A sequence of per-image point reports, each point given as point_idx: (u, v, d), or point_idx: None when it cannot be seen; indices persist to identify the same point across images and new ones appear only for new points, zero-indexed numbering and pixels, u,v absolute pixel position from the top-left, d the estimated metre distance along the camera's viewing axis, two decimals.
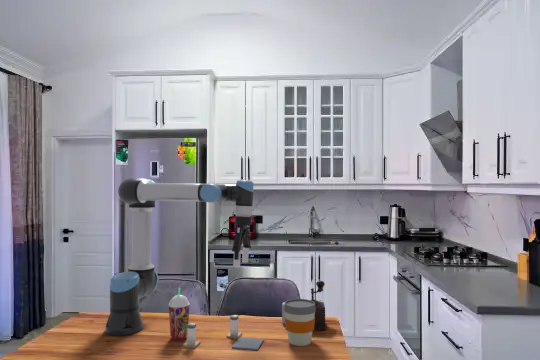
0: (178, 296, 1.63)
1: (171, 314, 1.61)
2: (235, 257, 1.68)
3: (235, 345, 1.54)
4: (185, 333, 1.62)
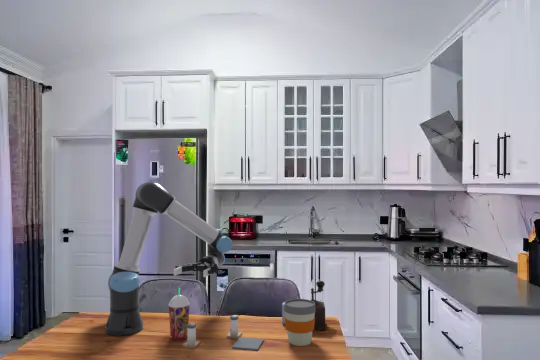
0: (178, 296, 1.63)
1: (171, 314, 1.61)
2: (211, 271, 1.76)
3: (235, 345, 1.54)
4: (185, 333, 1.62)
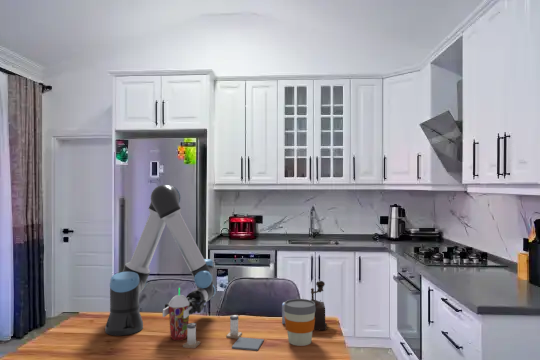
0: (178, 296, 1.63)
1: (171, 314, 1.61)
2: (192, 311, 1.62)
3: (235, 345, 1.54)
4: (185, 333, 1.62)
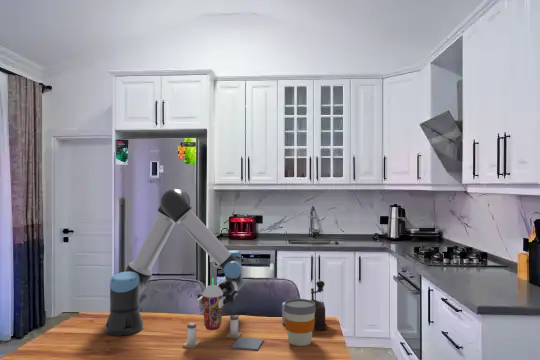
0: (212, 286, 1.62)
1: (205, 304, 1.61)
2: (226, 301, 1.62)
3: (235, 345, 1.54)
4: (219, 323, 1.62)
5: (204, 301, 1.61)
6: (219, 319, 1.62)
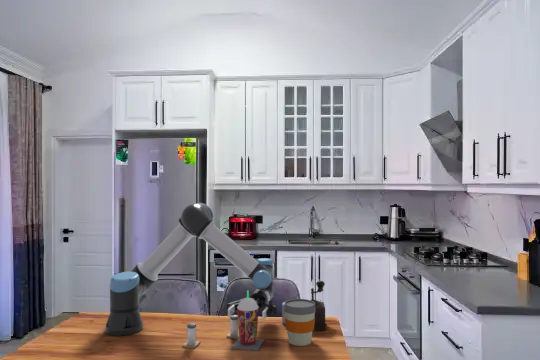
0: (247, 299, 1.56)
1: (241, 318, 1.54)
2: (269, 311, 1.56)
3: (235, 345, 1.54)
4: (255, 338, 1.55)
5: (239, 315, 1.54)
6: (255, 334, 1.55)
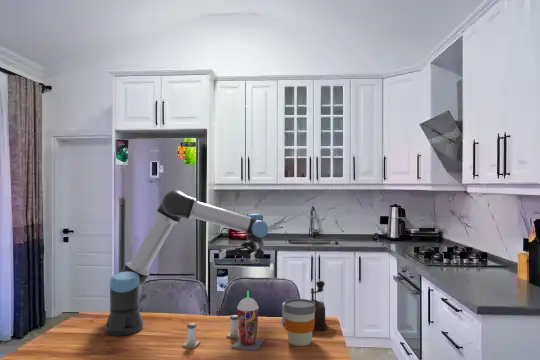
0: (247, 299, 1.56)
1: (241, 318, 1.54)
2: (257, 255, 1.70)
3: (235, 345, 1.54)
4: (255, 338, 1.55)
5: (239, 315, 1.54)
6: (255, 334, 1.55)
